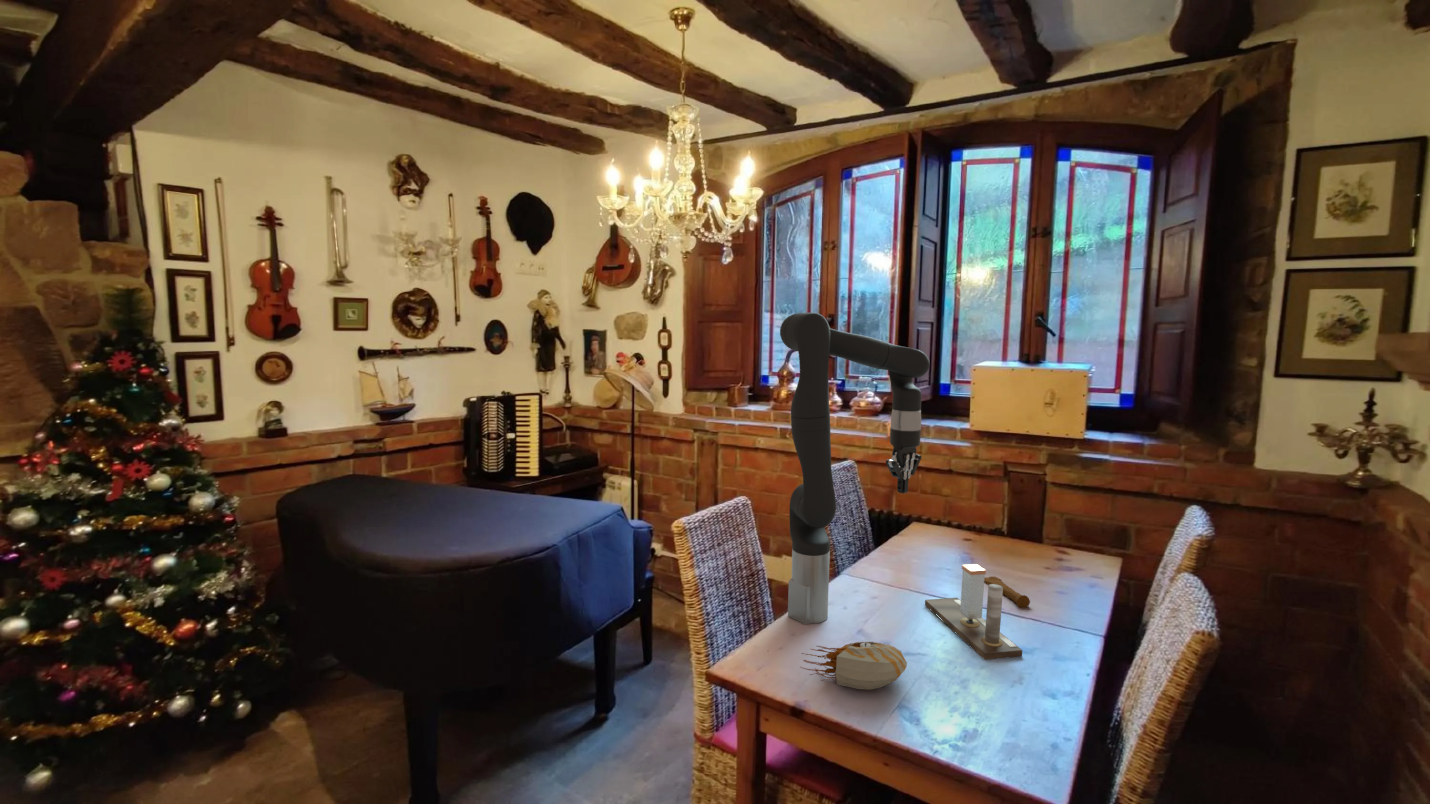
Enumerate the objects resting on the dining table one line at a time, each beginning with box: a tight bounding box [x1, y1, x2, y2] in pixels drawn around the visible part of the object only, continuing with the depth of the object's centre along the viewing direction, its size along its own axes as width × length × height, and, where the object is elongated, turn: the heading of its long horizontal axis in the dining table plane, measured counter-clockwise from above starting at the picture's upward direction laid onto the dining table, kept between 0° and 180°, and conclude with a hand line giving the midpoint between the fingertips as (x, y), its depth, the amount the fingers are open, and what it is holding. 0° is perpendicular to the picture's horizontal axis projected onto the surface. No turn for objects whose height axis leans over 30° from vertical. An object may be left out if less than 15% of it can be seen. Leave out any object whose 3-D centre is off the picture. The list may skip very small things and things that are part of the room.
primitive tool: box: [984, 575, 1031, 609], centre depth 175 cm, size 19×6×4 cm, turn 7°
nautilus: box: [800, 641, 908, 691], centre depth 132 cm, size 8×22×15 cm
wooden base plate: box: [924, 584, 1023, 661], centre depth 153 cm, size 27×9×14 cm, turn 10°
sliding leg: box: [960, 563, 987, 622], centre depth 153 cm, size 4×4×13 cm
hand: (902, 492), depth 167 cm, fingers closed
